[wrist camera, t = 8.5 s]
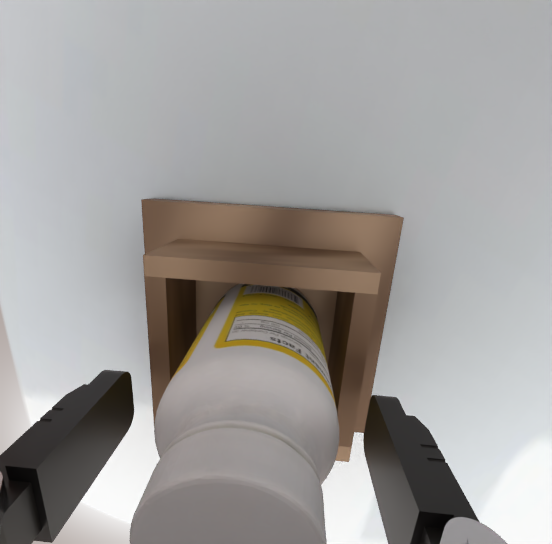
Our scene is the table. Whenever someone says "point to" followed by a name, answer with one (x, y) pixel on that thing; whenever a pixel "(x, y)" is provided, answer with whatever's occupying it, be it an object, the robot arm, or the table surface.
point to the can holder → (272, 283)
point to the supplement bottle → (244, 429)
